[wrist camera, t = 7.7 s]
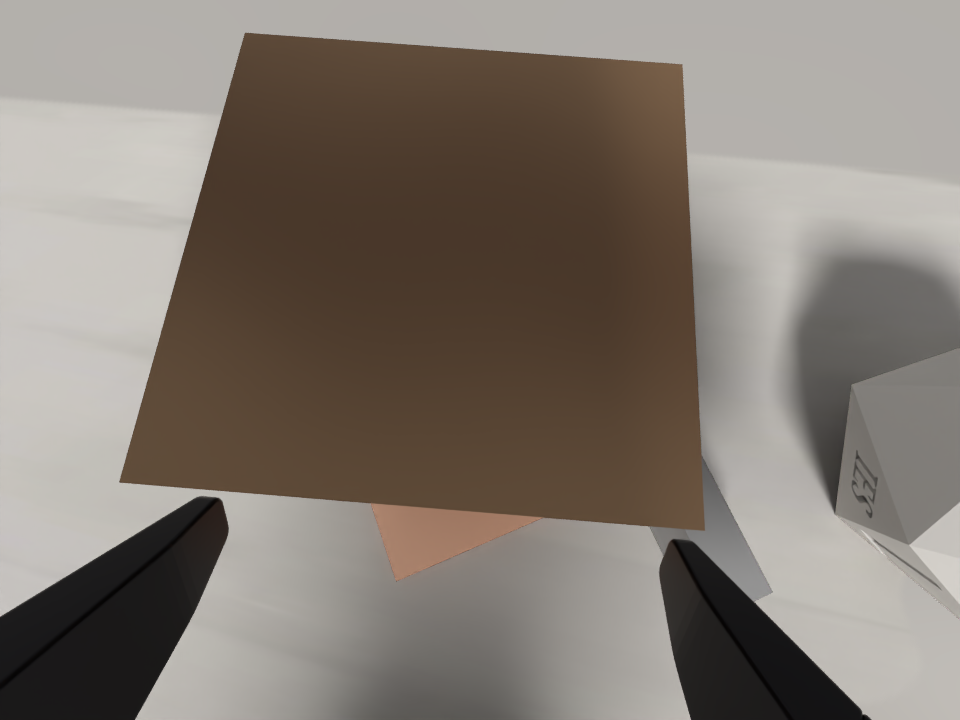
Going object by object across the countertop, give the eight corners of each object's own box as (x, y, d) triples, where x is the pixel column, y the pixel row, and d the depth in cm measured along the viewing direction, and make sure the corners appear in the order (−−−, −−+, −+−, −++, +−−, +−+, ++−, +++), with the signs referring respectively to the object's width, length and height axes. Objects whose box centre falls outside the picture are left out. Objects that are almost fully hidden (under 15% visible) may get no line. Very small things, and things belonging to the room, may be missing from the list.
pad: (609, 488, 17) (611, 488, 17) (397, 579, 16) (396, 581, 16) (520, 296, 19) (521, 293, 19) (328, 368, 18) (325, 366, 18)
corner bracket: (719, 574, 16) (773, 592, 13) (417, 717, 15) (403, 770, 12) (553, 241, 20) (567, 197, 17) (296, 334, 18) (263, 305, 16)
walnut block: (530, 503, 16) (703, 530, 4) (387, 491, 17) (119, 481, 4) (536, 365, 18) (682, 64, 5) (404, 355, 18) (244, 33, 5)
